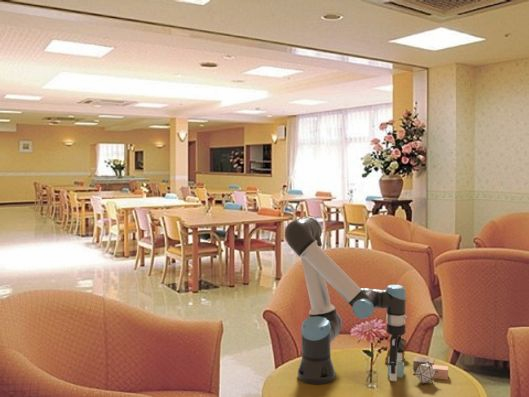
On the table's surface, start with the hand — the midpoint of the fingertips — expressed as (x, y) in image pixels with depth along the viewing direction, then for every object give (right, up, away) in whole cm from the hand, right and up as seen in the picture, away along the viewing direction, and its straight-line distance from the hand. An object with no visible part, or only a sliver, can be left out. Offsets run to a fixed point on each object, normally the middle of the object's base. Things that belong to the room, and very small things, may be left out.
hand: (395, 374), depth 217 cm
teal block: (0, 0, 0) cm, 0 cm away
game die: (+10, -1, -8) cm, 13 cm away
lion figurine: (+4, +1, +15) cm, 15 cm away
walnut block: (+13, 0, +5) cm, 14 cm away
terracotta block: (+17, 0, -3) cm, 17 cm away
